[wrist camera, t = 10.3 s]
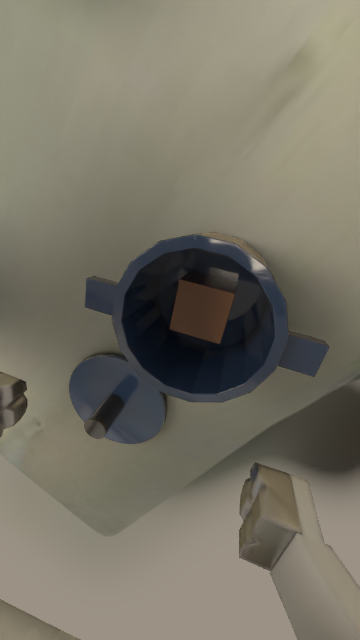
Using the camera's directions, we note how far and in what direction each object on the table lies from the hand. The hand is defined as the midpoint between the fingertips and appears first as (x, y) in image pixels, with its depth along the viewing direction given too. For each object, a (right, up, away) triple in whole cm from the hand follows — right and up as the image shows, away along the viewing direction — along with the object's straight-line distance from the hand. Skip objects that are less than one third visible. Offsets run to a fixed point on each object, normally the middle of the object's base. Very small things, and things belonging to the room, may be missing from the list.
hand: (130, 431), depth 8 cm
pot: (+5, +6, +16) cm, 18 cm away
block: (+4, +6, +16) cm, 18 cm away
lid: (-6, -6, +23) cm, 25 cm away
